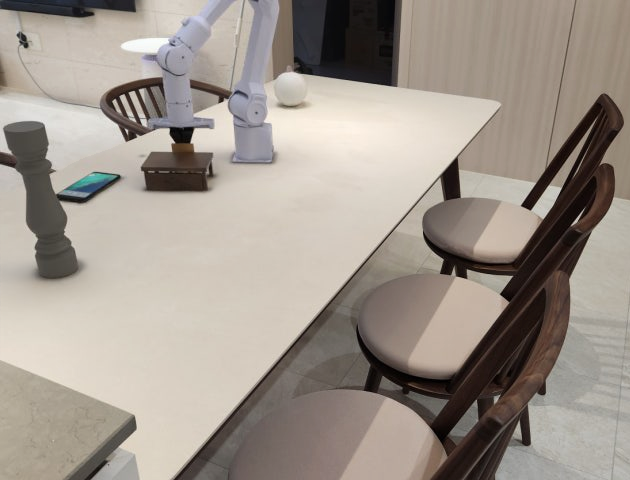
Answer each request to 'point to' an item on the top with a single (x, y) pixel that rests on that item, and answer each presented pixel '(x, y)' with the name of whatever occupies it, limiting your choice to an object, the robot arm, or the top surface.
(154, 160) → the desk
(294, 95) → the ornament
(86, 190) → the smartphone
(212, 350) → the top surface
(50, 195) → the candle holder
